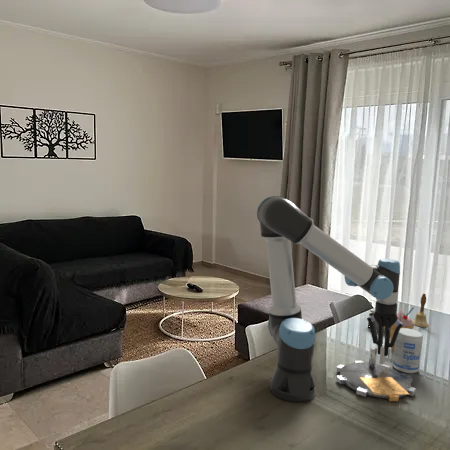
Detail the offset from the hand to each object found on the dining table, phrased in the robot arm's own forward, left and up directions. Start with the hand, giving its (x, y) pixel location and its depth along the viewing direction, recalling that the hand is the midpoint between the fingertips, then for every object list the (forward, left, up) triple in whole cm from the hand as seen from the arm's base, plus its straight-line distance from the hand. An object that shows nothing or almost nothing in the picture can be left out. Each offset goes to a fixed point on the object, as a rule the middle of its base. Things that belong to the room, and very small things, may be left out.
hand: (382, 363), depth 169 cm
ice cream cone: (+20, +21, -5) cm, 29 cm away
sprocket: (-6, -6, -5) cm, 10 cm away
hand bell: (+52, +51, -5) cm, 73 cm away
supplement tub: (+13, +4, -5) cm, 14 cm away
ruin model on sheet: (+25, +43, -5) cm, 50 cm away
